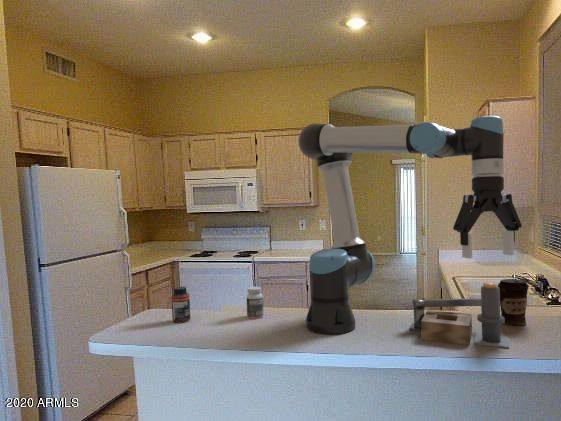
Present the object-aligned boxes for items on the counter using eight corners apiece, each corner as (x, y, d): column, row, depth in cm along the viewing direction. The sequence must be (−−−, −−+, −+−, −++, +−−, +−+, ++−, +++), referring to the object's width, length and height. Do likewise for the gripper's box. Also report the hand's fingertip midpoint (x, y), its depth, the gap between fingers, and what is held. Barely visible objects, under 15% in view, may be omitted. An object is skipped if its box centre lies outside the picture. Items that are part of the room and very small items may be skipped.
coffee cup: (535, 328, 116) (534, 283, 116) (504, 327, 118) (503, 283, 118) (523, 319, 125) (522, 277, 125) (494, 318, 127) (493, 277, 126)
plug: (477, 342, 106) (475, 285, 105) (478, 334, 111) (477, 280, 111) (505, 345, 102) (503, 287, 102) (504, 337, 108) (503, 282, 108)
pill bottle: (248, 314, 141) (247, 286, 141) (264, 314, 140) (263, 286, 140) (245, 319, 135) (244, 289, 135) (262, 319, 135) (261, 289, 134)
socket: (421, 339, 110) (421, 320, 110) (427, 326, 121) (427, 310, 121) (469, 344, 105) (469, 325, 105) (471, 331, 115) (471, 314, 115)
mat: (474, 344, 105) (474, 342, 105) (475, 334, 112) (475, 333, 112) (509, 348, 101) (509, 346, 101) (508, 338, 108) (508, 337, 108)
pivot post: (409, 329, 118) (408, 308, 118) (412, 325, 123) (411, 304, 123) (427, 332, 116) (426, 310, 116) (429, 327, 120) (428, 306, 120)
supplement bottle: (177, 318, 139) (176, 285, 139) (193, 318, 138) (192, 285, 138) (169, 323, 133) (167, 289, 133) (185, 323, 132) (184, 289, 132)
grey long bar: (414, 308, 118) (414, 301, 118) (411, 305, 121) (410, 298, 121) (483, 307, 117) (483, 300, 117) (477, 304, 120) (477, 297, 120)
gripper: (458, 175, 99) (459, 261, 99) (536, 175, 106) (537, 255, 107) (438, 177, 106) (439, 257, 107) (512, 176, 113) (513, 251, 114)
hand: (488, 256), depth 107 cm, fingers open, 13 cm apart
